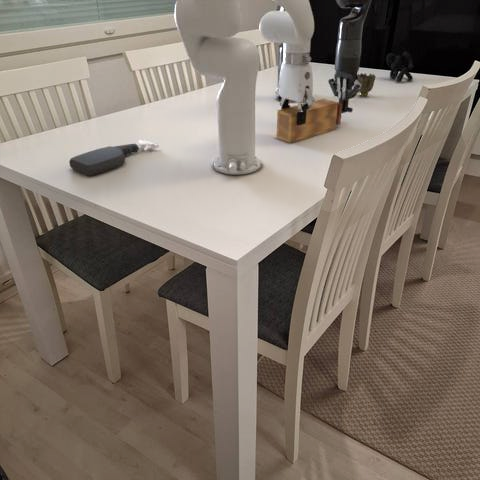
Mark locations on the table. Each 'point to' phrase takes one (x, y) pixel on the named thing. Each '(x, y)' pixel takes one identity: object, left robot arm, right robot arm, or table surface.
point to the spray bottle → (106, 157)
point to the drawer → (339, 112)
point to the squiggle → (399, 66)
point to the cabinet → (317, 121)
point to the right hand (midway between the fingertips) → (342, 110)
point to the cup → (366, 83)
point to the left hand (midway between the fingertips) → (293, 121)
